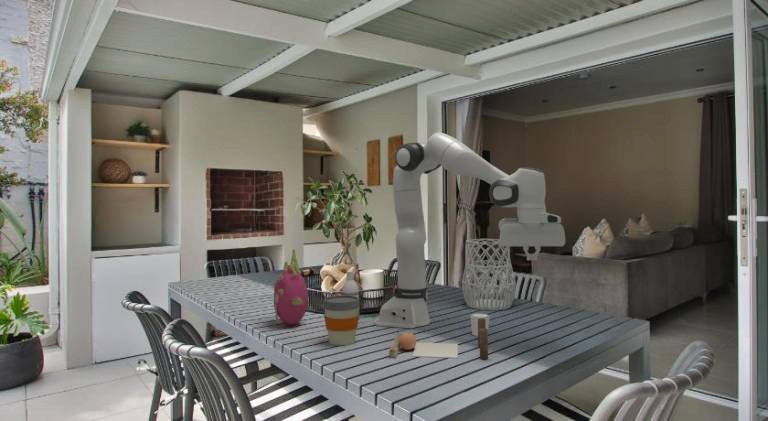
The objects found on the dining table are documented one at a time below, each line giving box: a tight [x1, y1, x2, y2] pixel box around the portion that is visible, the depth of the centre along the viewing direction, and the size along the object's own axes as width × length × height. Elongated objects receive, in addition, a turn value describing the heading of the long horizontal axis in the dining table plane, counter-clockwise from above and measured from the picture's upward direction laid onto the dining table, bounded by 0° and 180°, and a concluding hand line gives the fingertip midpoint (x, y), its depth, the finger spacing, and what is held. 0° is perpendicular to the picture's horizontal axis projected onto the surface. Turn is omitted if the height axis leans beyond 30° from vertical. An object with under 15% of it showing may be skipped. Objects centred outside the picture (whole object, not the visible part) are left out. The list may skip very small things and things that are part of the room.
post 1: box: [477, 318, 486, 348], centre depth 158 cm, size 2×2×9 cm
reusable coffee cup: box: [322, 295, 360, 346], centre depth 166 cm, size 13×13×15 cm
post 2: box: [479, 328, 489, 361], centre depth 146 cm, size 2×2×9 cm
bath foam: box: [341, 270, 360, 320], centre depth 197 cm, size 7×7×20 cm
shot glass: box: [469, 312, 490, 337], centre depth 172 cm, size 7×7×7 cm
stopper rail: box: [389, 333, 404, 359], centre depth 157 cm, size 2×18×2 cm, turn 171°
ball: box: [399, 332, 417, 351], centre depth 156 cm, size 6×6×6 cm
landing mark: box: [412, 342, 459, 359], centre depth 155 cm, size 14×14×1 cm
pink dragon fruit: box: [273, 249, 309, 326], centre depth 189 cm, size 18×14×30 cm
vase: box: [461, 238, 517, 311], centre depth 218 cm, size 24×24×30 cm
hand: (531, 260), depth 153 cm, fingers closed
